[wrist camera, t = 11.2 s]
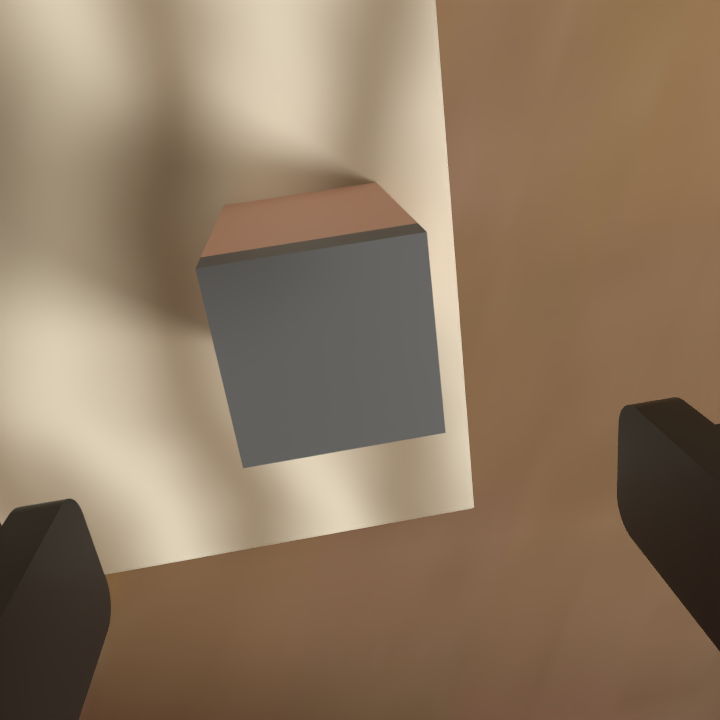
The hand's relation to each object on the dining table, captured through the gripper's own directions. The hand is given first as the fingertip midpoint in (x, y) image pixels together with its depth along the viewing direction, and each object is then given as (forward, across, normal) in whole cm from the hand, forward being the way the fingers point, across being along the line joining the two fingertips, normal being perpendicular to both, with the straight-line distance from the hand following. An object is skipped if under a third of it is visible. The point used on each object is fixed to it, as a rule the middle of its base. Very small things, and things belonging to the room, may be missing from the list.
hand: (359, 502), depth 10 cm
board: (+15, +4, 0) cm, 16 cm away
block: (+14, 0, 0) cm, 14 cm away
